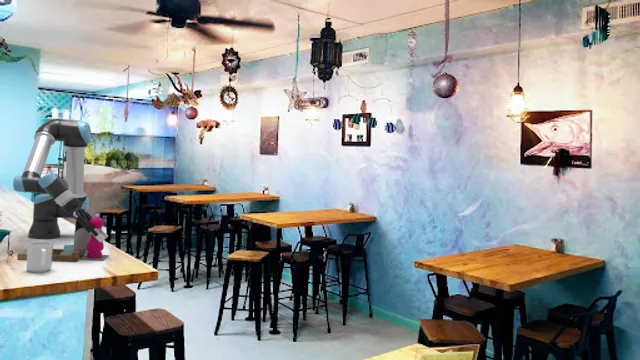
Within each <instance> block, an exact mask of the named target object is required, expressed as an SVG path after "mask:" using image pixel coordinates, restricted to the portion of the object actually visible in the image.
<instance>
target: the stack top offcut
mask: <svg viewBox="0 0 640 360" xmlns="http://www.w3.org/2000/svg"><path fill="white" fill-rule="evenodd" d="M63 249H64V250H63V253H73V252H74V244H64V245H63Z"/></svg>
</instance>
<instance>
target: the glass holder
mask: <svg viewBox="0 0 640 360" xmlns="http://www.w3.org/2000/svg"><path fill="white" fill-rule="evenodd" d="M74 226H75V227H74V228H75V229H74V237H73V245H74V250H78V249H79V248H81V247H85V255H86V254H87V253H88V252H89V251H88V250H87V244H88V242H89V240H90V238H91V232H90V233H88V232H87V231H86V230H85V229H84V228H83V227H82V226H81V224H80V223H79V222H78V221H77V220H76V221H75V225H74Z"/></svg>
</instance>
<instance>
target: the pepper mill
mask: <svg viewBox="0 0 640 360" xmlns="http://www.w3.org/2000/svg"><path fill="white" fill-rule="evenodd" d="M90 223H91V225H92V226H93V227H94V229H95V228H96V229H97V230H98V231H99V232H100V233H101V231H102V230H103V226H104V225H105V221H104V219H103V218H102V217H100V214H99V213H96V214H95V217H93V218H92V219H91V220H90ZM104 247H105V245H104V240H103V241H102V242H99V241H98V240H97V239H96V238H95V237H94V236H93V235H92V233H91V238H90V240H89V242H88V244H87V250H88V251H89V252H88V253H87V257H89V258H100V257H102V255H103V252H102V251H103V250H104Z"/></svg>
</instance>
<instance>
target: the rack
mask: <svg viewBox="0 0 640 360" xmlns="http://www.w3.org/2000/svg"><path fill="white" fill-rule="evenodd" d="M63 250H64V248H53V251H52V262H61V263H62V262H63V263H64V262H65V263H66V262H67V263H76V262H78V261H79V260H80V258H82V257H83V256H85V255H86V254H85V247H81V248H79V249H78V250H74V251H75V252H73V253H72V256H70V255H60V253H61V252H63ZM16 259H17V261H27V254H25V253H20V252H19V253H17V258H16Z"/></svg>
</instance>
